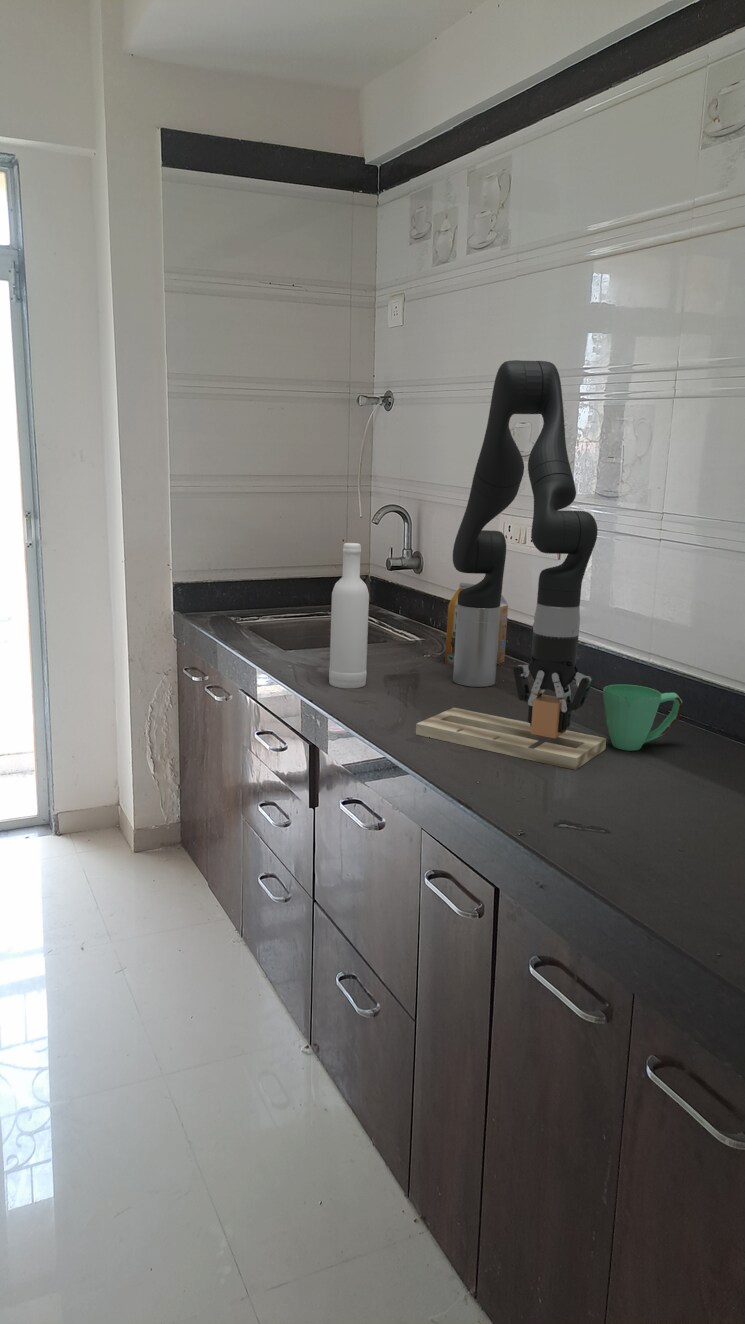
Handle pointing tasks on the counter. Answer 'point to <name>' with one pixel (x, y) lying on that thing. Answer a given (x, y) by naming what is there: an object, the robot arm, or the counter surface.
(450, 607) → the milk carton
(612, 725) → the mug
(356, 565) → the bottle
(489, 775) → the counter surface
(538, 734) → the fader knob
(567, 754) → the board
